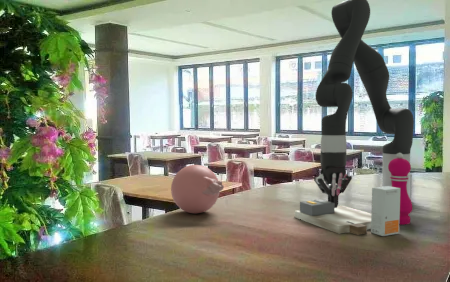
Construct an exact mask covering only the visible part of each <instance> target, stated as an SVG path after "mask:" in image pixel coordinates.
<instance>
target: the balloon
mask: <svg viewBox="0 0 450 282" xmlns="http://www.w3.org/2000/svg"><path fill="white" fill-rule="evenodd" d="M170 189H171V190H170V193H171V198H172V200H173V202H174V204H176V206H177V207H178V208H179V209H180V210H182V211H184V212H186V213H189V214H201V213H204V212H206V211H208V210H210V209H211V208H213V206H214V205H215V204H216V202H217V201H218V199H219V195H220V192H221V191H222V190H224V185H223V181H222V180H219V179H218V177H217V175H216V174H215V172H213V171H212V169H210V168H209V167H207V166H204V165H200V164H190V165H187V166H185V167H182V168H181V169H180V170H178V171H177V173H175V175H174V177H173V179H172V182H171V188H170Z"/></svg>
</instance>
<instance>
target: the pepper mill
mask: <svg viewBox="0 0 450 282" xmlns="http://www.w3.org/2000/svg"><path fill="white" fill-rule="evenodd" d="M396 157H397V158H396V159H393V160H391V161H390V163H389V165H388V169H389V171H390V173H391V175H390V180H391V182H392V187H396V188H400V220H399V224H400V225H399V226H401V225H403V226H404V225H405V224H406V225H410V224H411V216H410V214H411V213H412V212H413V202H412V199H411V200H410V198H409V196H408V193H407V181H409V179H408V177H409V176H408V173H409V172H410V173H411V170H412V165H411V162H410V163H409V162H408V161H407V160H406V159H403V154H402V153H397V155H396Z"/></svg>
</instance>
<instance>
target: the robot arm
mask: <svg viewBox="0 0 450 282" xmlns="http://www.w3.org/2000/svg"><path fill="white" fill-rule="evenodd" d="M330 13H331V19H332V22H333V24H334V27H335V28H336V31H337V33H338V34H339V36H340V37H341V39H340V40H339V41H338V42H337V44H336V46H335V47H334V48H333V50H332V52H331V55H330V58H329V62H328V66H327V70H326V72H325V73H324V76H323V77H322V79H321V80H320V82H319V84H318V85H317V87H316V90H315V96H314V97H315V102H316V103H317V105H319V106H320V107H322V108H336V110H335V112H334V113H332V114H331V113H330V114H327V115H324V116H323V117H322V118H321V139H320V166H321V170H320V172H319V175H318V176H317V177H316V176H315V177H314V179H313V181H314V182H315V184H316V185H317V187H318V188H319V189H320V192H321V193H323V194H326V195H327V201H329V202H333V203H335V206H334V208H337V206H339V195H340V194H344V193H345V191H346V189H347V188H348V186H349V184H350V182H351V181H352V179H353V176H352V175H348V174H347V170H346V166H347V148H348V147H347V144H348V143H347V136H346V134H347V133H346V132H347V119H348V118H347V117H348V114H349V110H350V106H351V103H352V99H353V93H354V92H353V88H352V87H351V85H350V84H349V83H347V81H348V80H349V79H350V77H351V74H352V70H353V66H355V68H356V71H357V73H358V77H359V78H360V80H361V82H362V85H363V86H364V90H365V91H366V94H367V97H368V99H369V102H370V104H371V108H372V111H373V114H374V117H375V120H376V124H377V126H378V128H379V129H380V131H381V132H382V133H384V134H386V135H394V136H393V139H392V141H390V142H388V143H386V144H384V145H383V146H382V169H381V171H382V174H381V175H382V177H381V179H382V181H381V187H383V186H391V187H392V182H391V180H390V175H391V173H390V171H389V169H388V165H389V163H390V161H391V160H393V159H396V158H397V157H396V155H397V153H402V154H403V159H406V160H407V161H408V162H409V163H410V164H411V149H412V146H413V138H414V126H415V125H414V124H415V120H414V115H413V112H412V111H411V109H408V108H392V107H391V105H390V102H389V101H388V97H387V92H388V91H387V90H388V86H389V81H390V72H389V69H388V67H387V64H386V62H385V59H384V57H383V56H382V55H381V53H379V52H378V50H376V49H375V48H374V47H372V46H371V45H369V44H368V43H367V42H365V41H364V40H363V39H362V38H363V36H364V33H365V31H366V29H367V25H368V24H369V21H370V17H371V6H370V3H369V1H368V0H344V1H341V2H338V3H337V4H335V5H334V6H332V9H331V12H330ZM353 64H354V65H353ZM408 176H409V177H408V179H409V181H407V193H408V196H409V198H410V200H411V201H412V188H413V186H412V185H413V183H412V181H413V180H412V178H413V175H412V174H411V171H410V172H409V173H408Z"/></svg>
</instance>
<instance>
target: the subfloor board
mask: <svg viewBox="0 0 450 282" xmlns="http://www.w3.org/2000/svg"><path fill="white" fill-rule="evenodd" d="M294 218H295V219H298V220H300V219H301V220H300V221H303V222H306V223H309V224H312V225H314V226H317V227H320V228H322V229H325V230H327V231H331V232H334V233H336V234H344V233H345V234H346V233H351V234H354V235H357V236H359V235H366V234H367V232H368V231H367V230H371V212H367V211H364V210H360V209H355V208H352V207H350V206H346V205H338V206H337V208H334V213H331V214H323V215H315V216H311V215H308V214H305V213H302V212H300V209H297V210H294Z"/></svg>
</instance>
